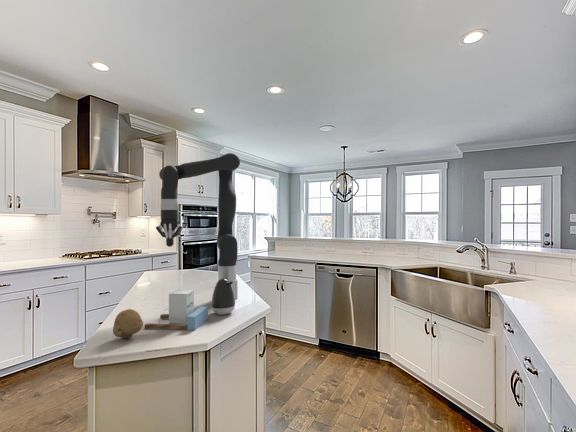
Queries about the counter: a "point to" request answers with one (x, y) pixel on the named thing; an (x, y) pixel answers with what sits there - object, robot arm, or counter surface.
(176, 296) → the supplement box
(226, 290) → the pump dispenser
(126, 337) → the brown potato
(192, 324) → the blue rectangular block
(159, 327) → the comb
